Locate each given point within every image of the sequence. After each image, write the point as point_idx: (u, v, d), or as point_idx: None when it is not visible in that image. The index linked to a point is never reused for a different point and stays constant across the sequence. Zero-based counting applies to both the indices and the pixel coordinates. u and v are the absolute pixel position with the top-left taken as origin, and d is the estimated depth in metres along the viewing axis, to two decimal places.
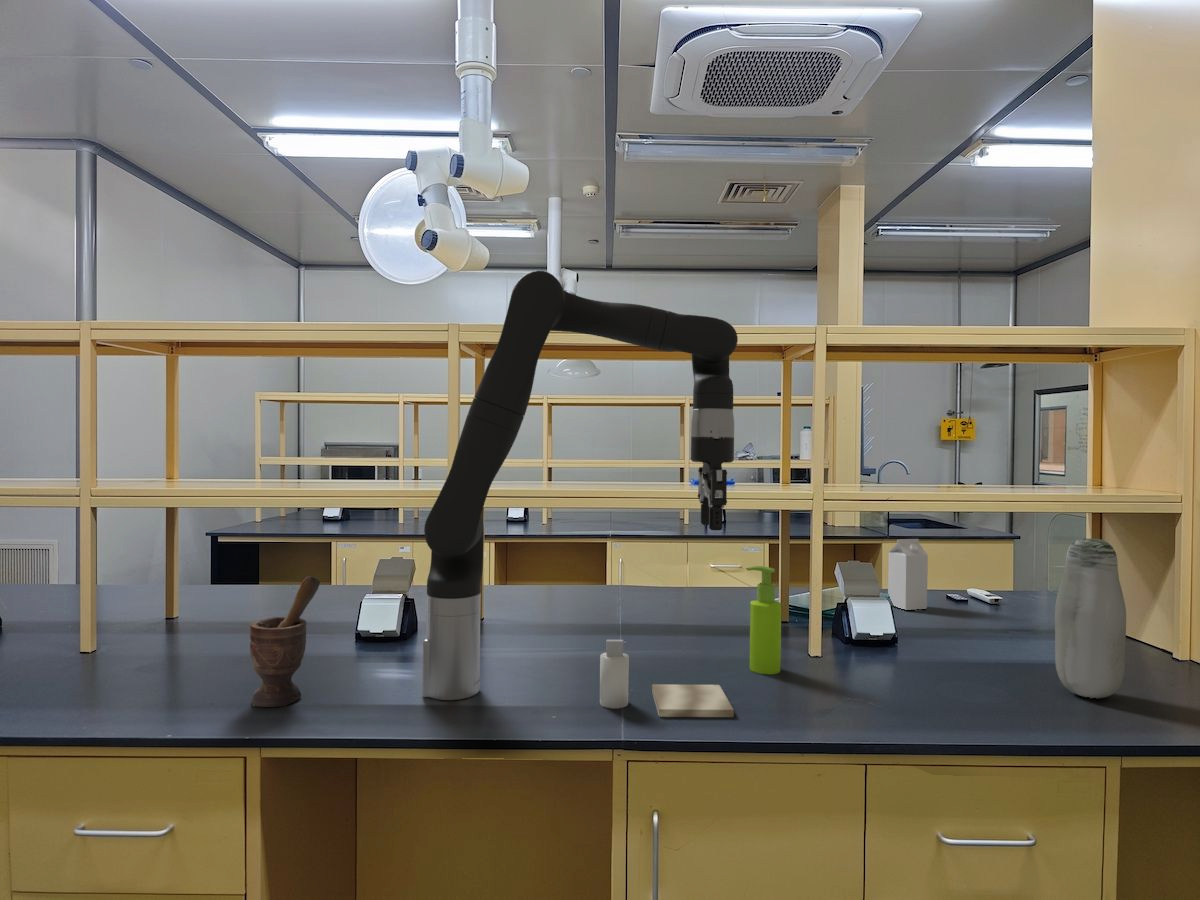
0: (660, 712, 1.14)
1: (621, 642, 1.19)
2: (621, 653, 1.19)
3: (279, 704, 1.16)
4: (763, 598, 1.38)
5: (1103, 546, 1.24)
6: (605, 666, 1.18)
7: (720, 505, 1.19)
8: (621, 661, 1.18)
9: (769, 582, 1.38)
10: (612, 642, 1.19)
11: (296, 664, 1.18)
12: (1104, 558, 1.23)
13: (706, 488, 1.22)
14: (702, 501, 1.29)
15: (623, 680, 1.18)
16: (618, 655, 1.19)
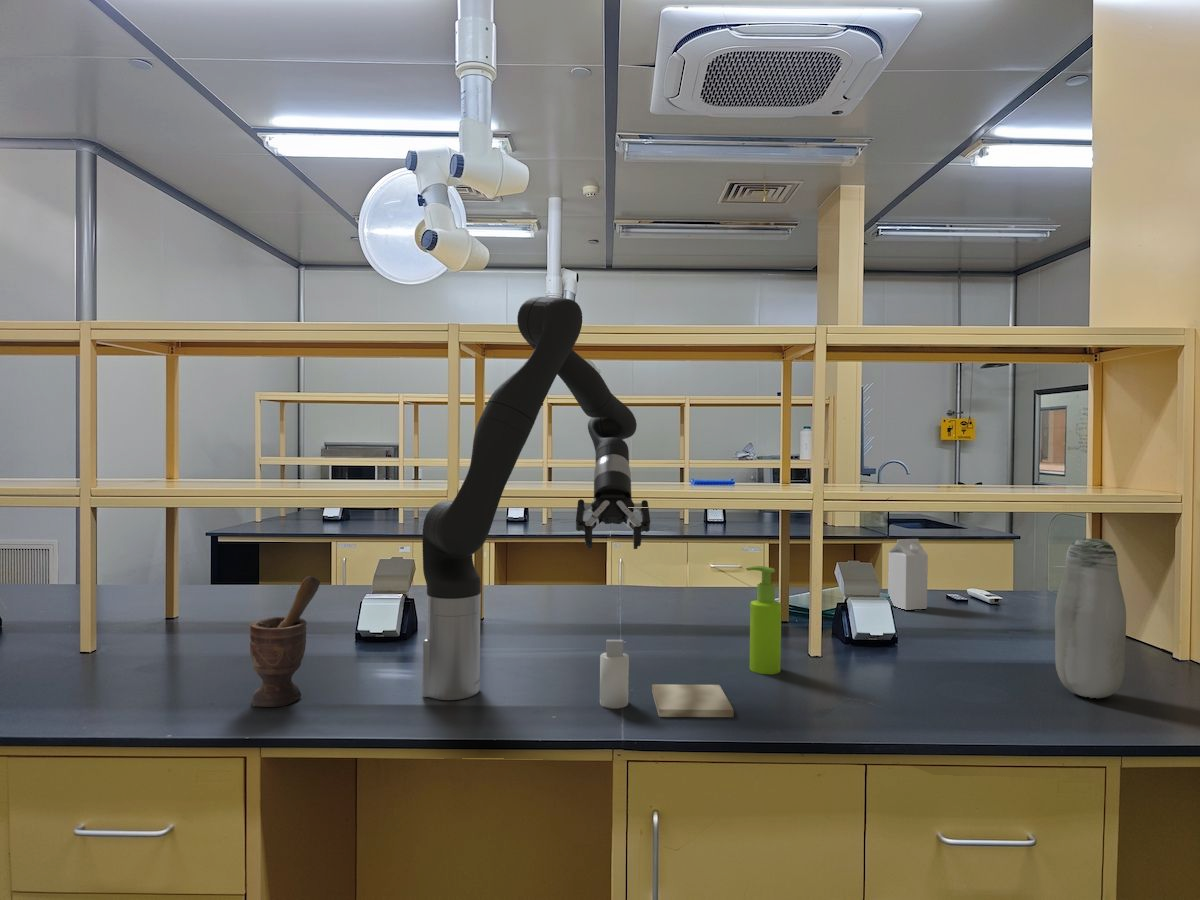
0: (660, 712, 1.14)
1: (621, 642, 1.19)
2: (621, 653, 1.19)
3: (279, 704, 1.16)
4: (763, 598, 1.38)
5: (1103, 546, 1.24)
6: (605, 666, 1.18)
7: (646, 529, 1.36)
8: (621, 661, 1.18)
9: (769, 582, 1.38)
10: (612, 642, 1.19)
11: (296, 664, 1.18)
12: (1104, 558, 1.23)
13: (631, 512, 1.37)
14: (591, 525, 1.35)
15: (623, 680, 1.18)
16: (618, 655, 1.19)
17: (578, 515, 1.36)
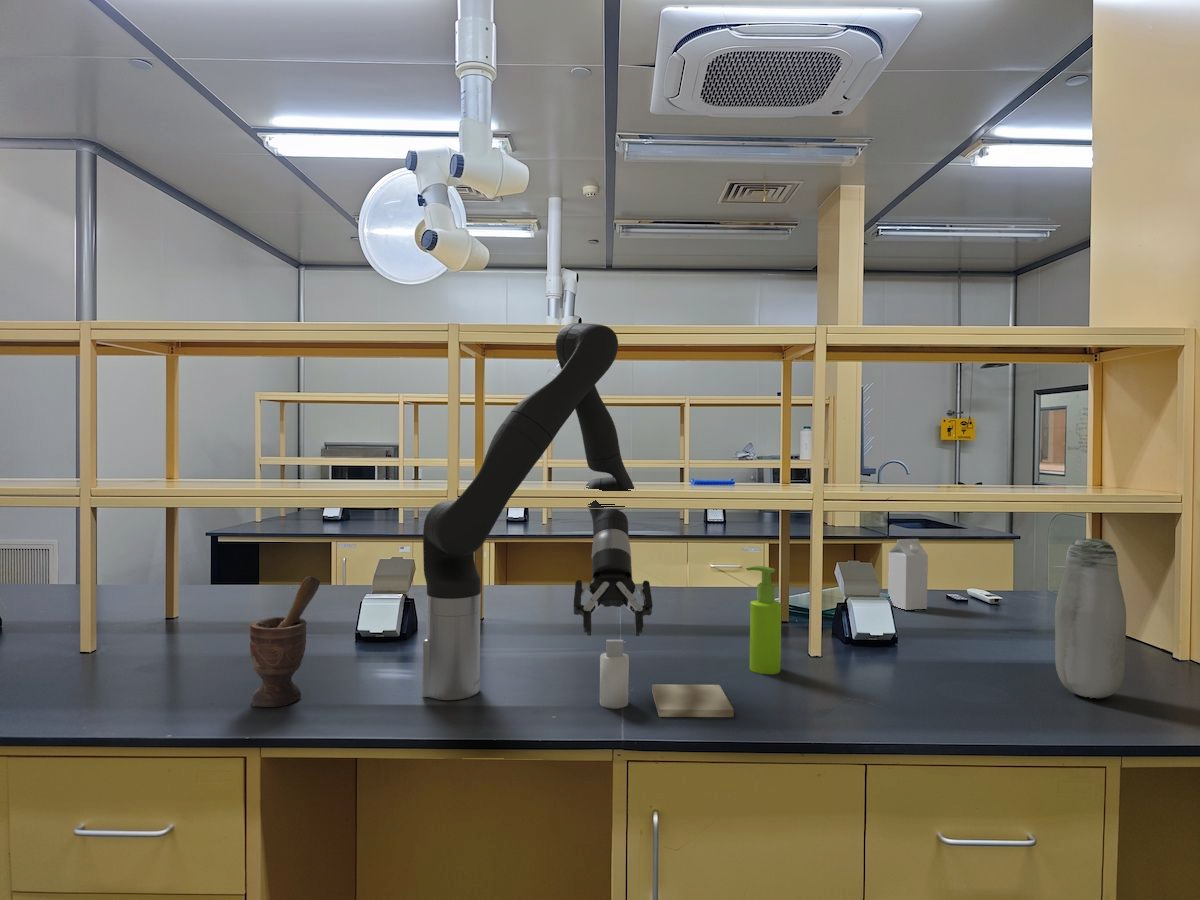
0: (660, 712, 1.14)
1: (621, 642, 1.19)
2: (621, 653, 1.19)
3: (279, 704, 1.16)
4: (763, 598, 1.38)
5: (1104, 546, 1.24)
6: (605, 666, 1.18)
7: (648, 613, 1.28)
8: (621, 661, 1.18)
9: (769, 582, 1.38)
10: (612, 642, 1.19)
11: (296, 664, 1.18)
12: (1104, 558, 1.23)
13: None
14: (590, 609, 1.27)
15: (623, 680, 1.18)
16: (618, 655, 1.19)
17: (576, 598, 1.28)
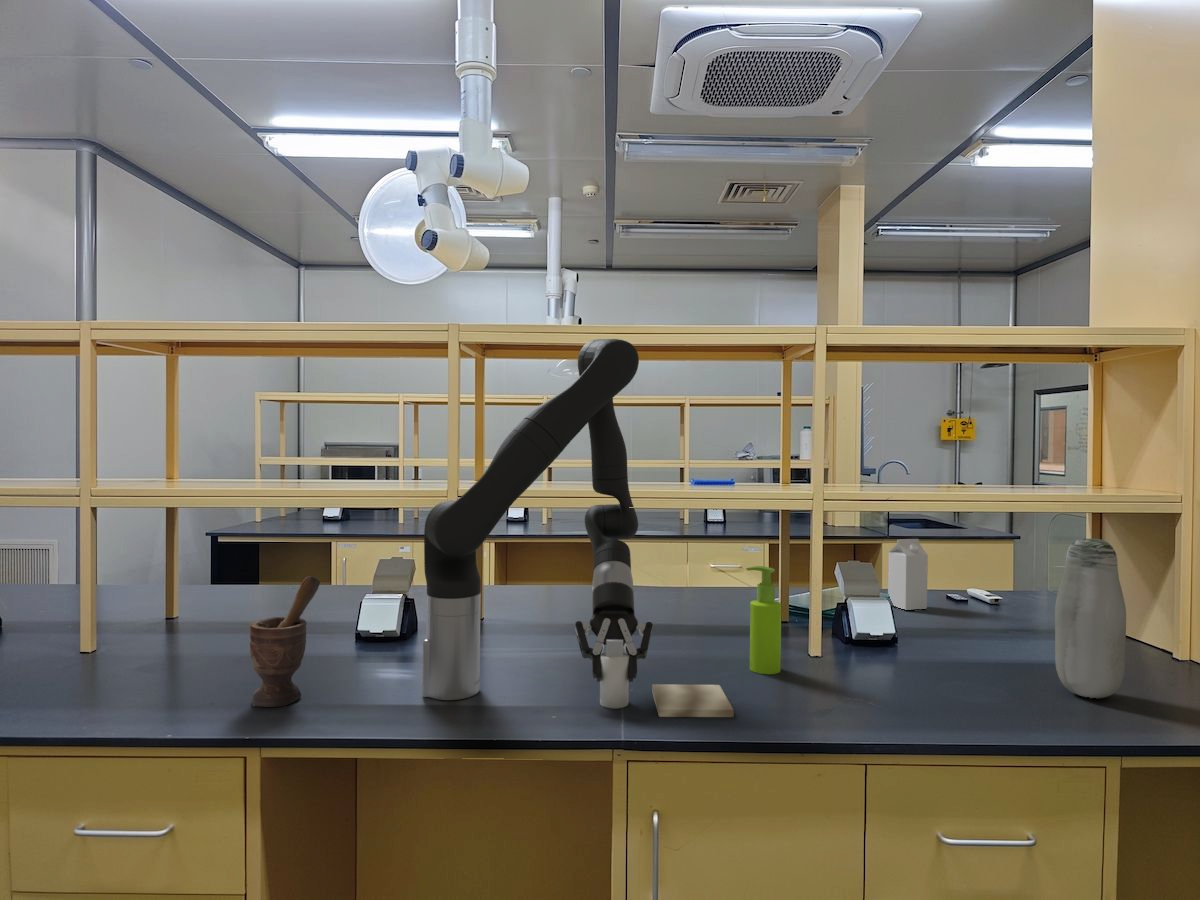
0: (660, 712, 1.14)
1: (621, 642, 1.19)
2: (621, 653, 1.19)
3: (279, 704, 1.16)
4: (763, 598, 1.38)
5: (1104, 546, 1.24)
6: (605, 666, 1.18)
7: (642, 656, 1.21)
8: (621, 661, 1.18)
9: (769, 582, 1.38)
10: (612, 642, 1.19)
11: (296, 664, 1.18)
12: (1104, 558, 1.23)
13: (630, 635, 1.22)
14: (599, 652, 1.20)
15: (623, 679, 1.18)
16: (618, 655, 1.19)
17: (582, 641, 1.21)
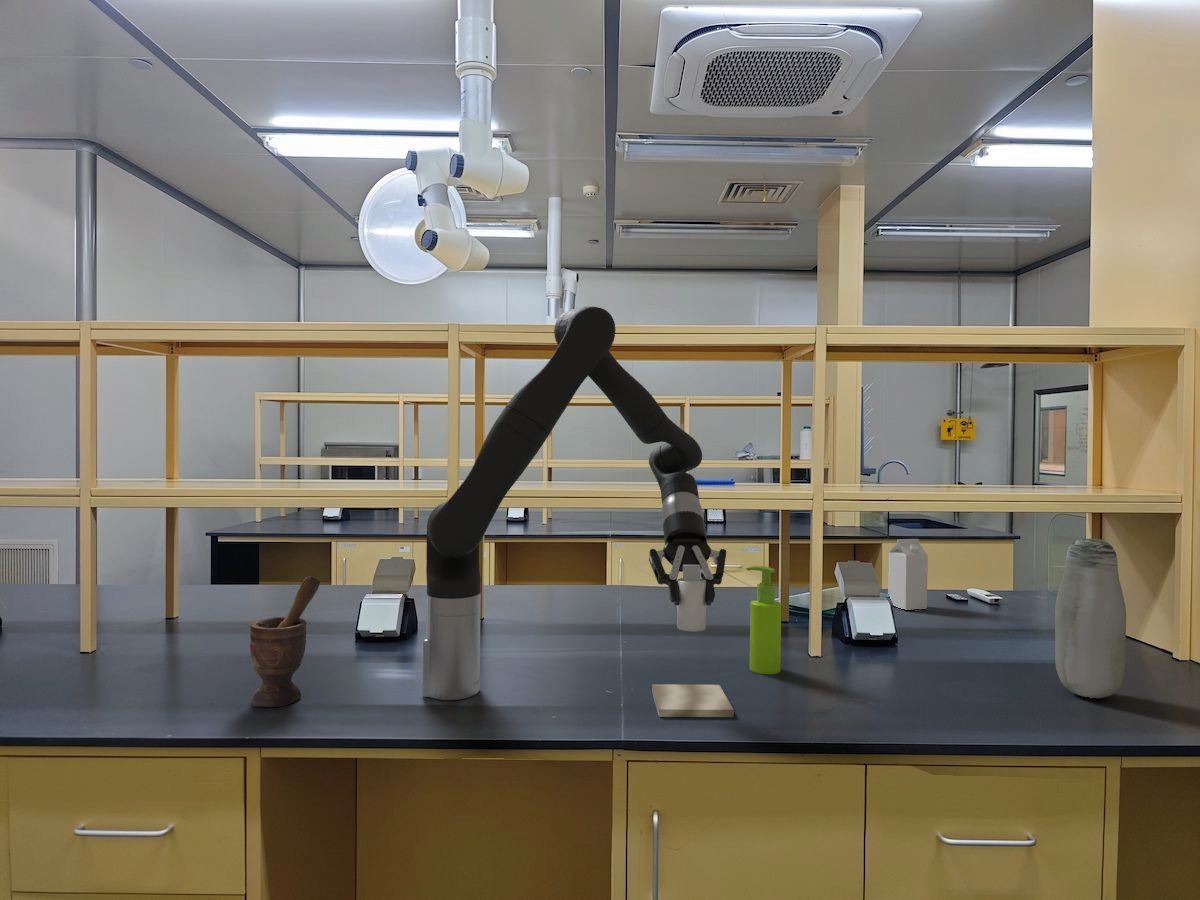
0: (660, 712, 1.14)
1: (698, 566, 1.20)
2: (698, 577, 1.20)
3: (279, 704, 1.16)
4: (763, 598, 1.38)
5: (1104, 546, 1.24)
6: (683, 590, 1.18)
7: (718, 582, 1.22)
8: (699, 584, 1.18)
9: (769, 582, 1.38)
10: (689, 566, 1.20)
11: (296, 664, 1.18)
12: (1104, 558, 1.23)
13: (705, 561, 1.22)
14: (676, 577, 1.21)
15: (701, 603, 1.18)
16: (695, 579, 1.20)
17: (658, 567, 1.22)
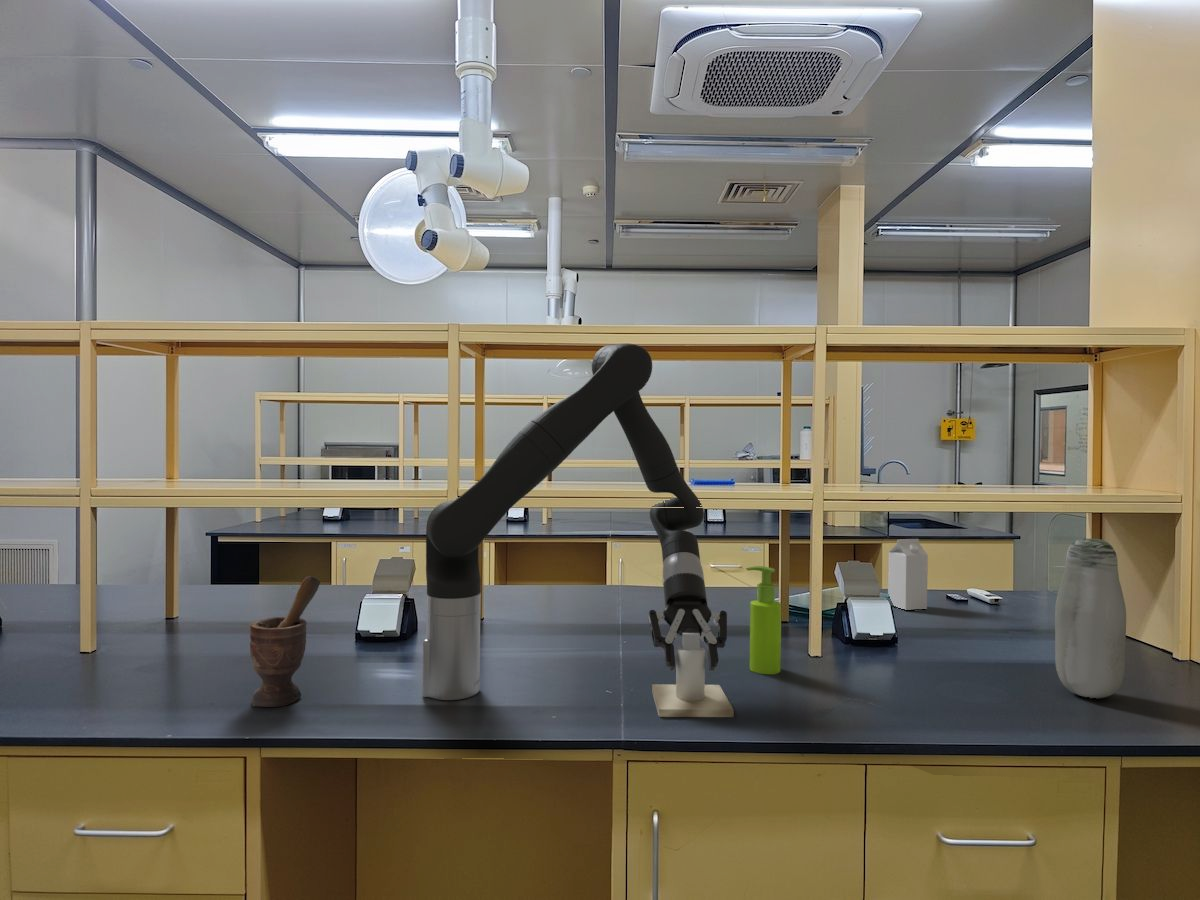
0: (660, 712, 1.14)
1: (698, 635, 1.20)
2: (698, 646, 1.20)
3: (279, 704, 1.16)
4: (763, 598, 1.38)
5: (1104, 546, 1.24)
6: (682, 659, 1.18)
7: (721, 645, 1.22)
8: (699, 654, 1.18)
9: (769, 582, 1.38)
10: (689, 635, 1.20)
11: (296, 664, 1.18)
12: (1104, 558, 1.23)
13: (707, 625, 1.22)
14: (672, 641, 1.21)
15: (701, 672, 1.18)
16: (695, 648, 1.20)
17: (655, 630, 1.22)
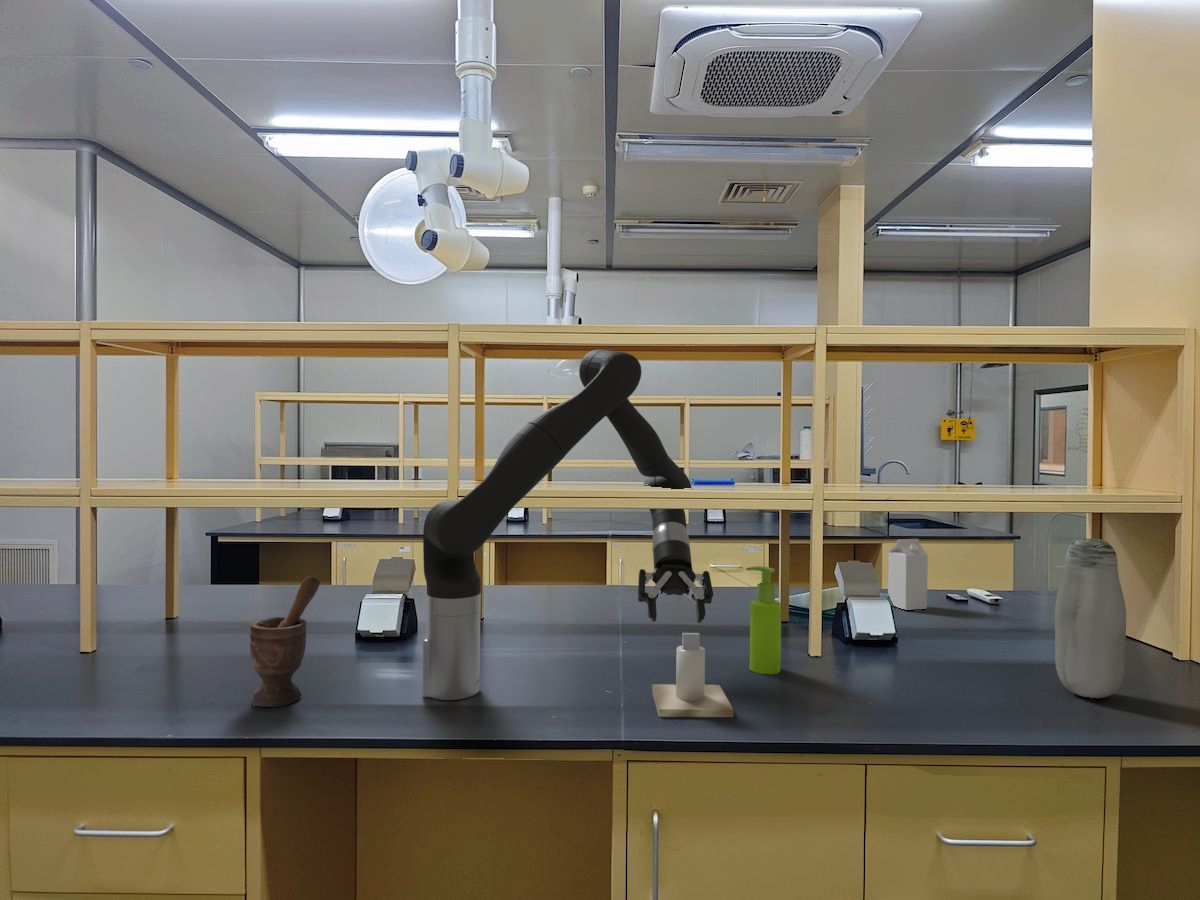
0: (660, 712, 1.14)
1: (698, 635, 1.20)
2: (698, 646, 1.20)
3: (279, 704, 1.16)
4: (763, 598, 1.38)
5: (1104, 546, 1.24)
6: (682, 659, 1.18)
7: (708, 601, 1.36)
8: (699, 654, 1.18)
9: (769, 582, 1.38)
10: (689, 635, 1.20)
11: (296, 664, 1.18)
12: (1104, 558, 1.23)
13: (693, 583, 1.36)
14: (654, 597, 1.34)
15: (700, 673, 1.18)
16: (695, 648, 1.20)
17: (640, 586, 1.36)
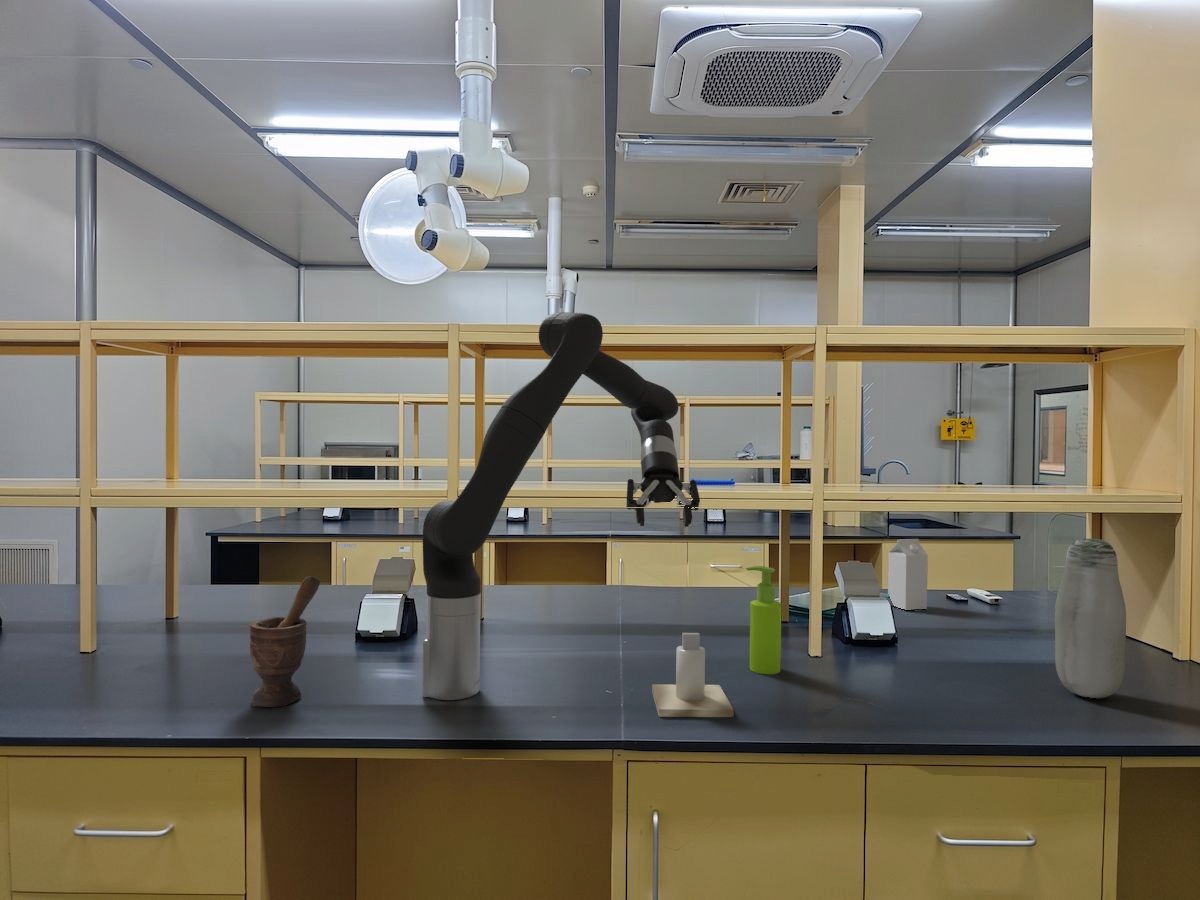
0: (660, 712, 1.14)
1: (698, 635, 1.20)
2: (698, 646, 1.20)
3: (279, 704, 1.16)
4: (763, 598, 1.38)
5: (1104, 546, 1.24)
6: (682, 659, 1.18)
7: None
8: (699, 654, 1.18)
9: (769, 582, 1.38)
10: (689, 635, 1.20)
11: (296, 664, 1.18)
12: (1104, 558, 1.23)
13: (680, 491, 1.39)
14: (642, 503, 1.38)
15: (700, 672, 1.18)
16: (695, 648, 1.20)
17: (629, 494, 1.39)
